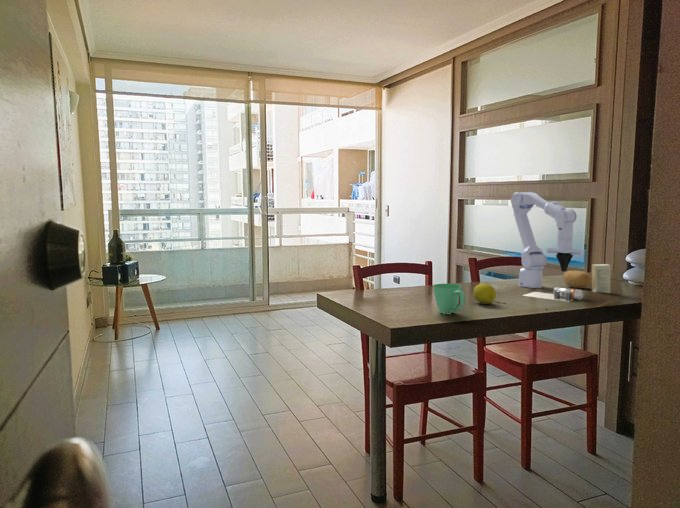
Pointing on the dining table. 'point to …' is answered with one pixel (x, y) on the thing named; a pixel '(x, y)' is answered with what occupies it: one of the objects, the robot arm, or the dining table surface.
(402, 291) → the dining table surface
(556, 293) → the collar
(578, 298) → the tube
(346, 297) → the dining table surface
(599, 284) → the skincare box
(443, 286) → the mug
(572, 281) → the potato
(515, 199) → the robot arm
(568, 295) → the collar
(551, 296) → the board
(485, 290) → the lemon
